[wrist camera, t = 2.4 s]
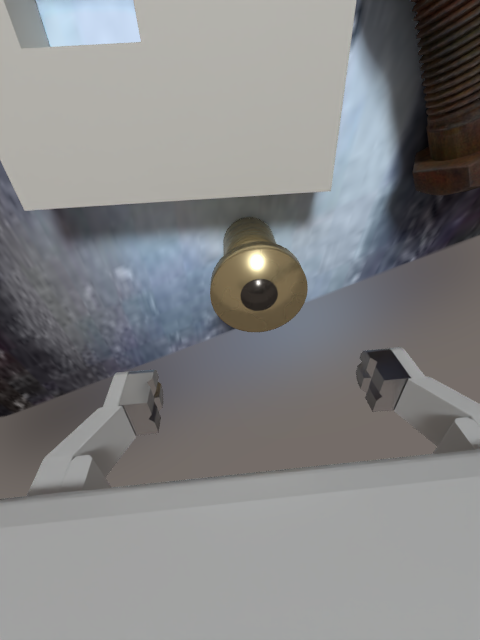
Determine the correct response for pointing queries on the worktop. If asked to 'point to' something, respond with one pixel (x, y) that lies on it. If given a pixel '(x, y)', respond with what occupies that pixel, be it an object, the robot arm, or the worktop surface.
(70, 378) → the worktop surface
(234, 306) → the bushing
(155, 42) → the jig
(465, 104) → the bolt
